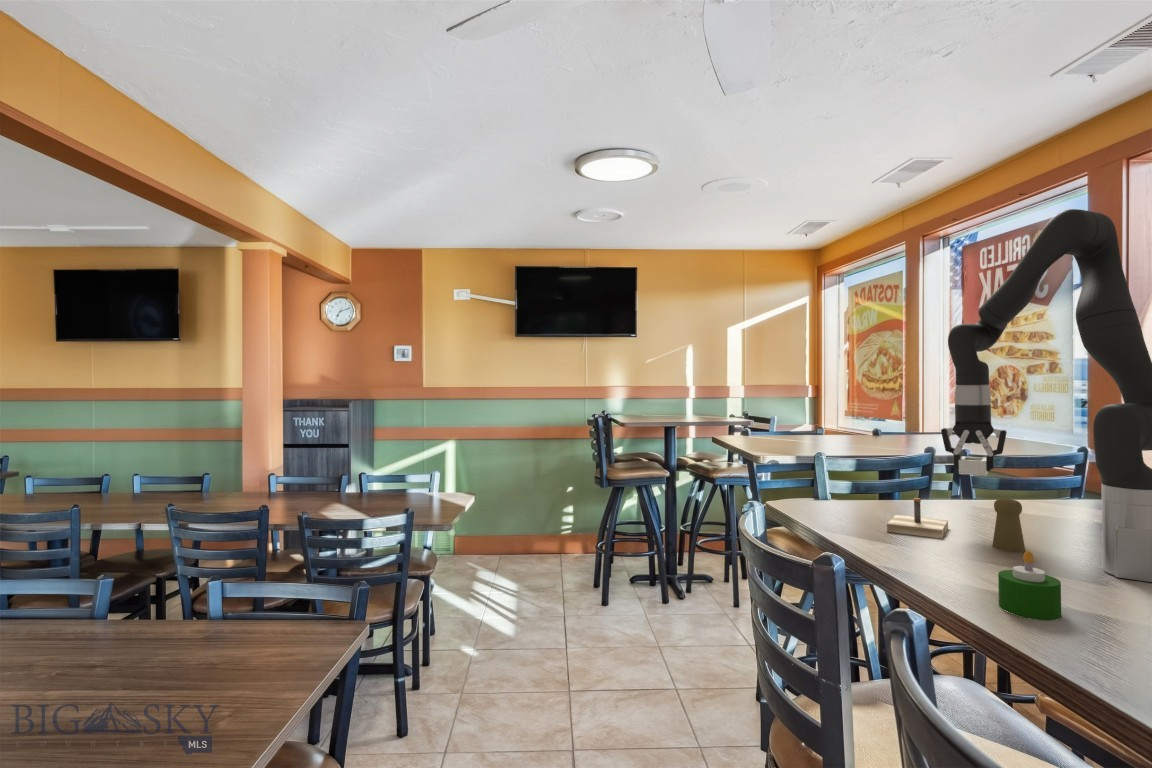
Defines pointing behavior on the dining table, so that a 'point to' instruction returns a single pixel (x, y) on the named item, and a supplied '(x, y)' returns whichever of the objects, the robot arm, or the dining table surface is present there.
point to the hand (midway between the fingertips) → (973, 469)
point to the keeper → (917, 524)
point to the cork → (1008, 526)
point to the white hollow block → (973, 466)
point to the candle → (1029, 591)
